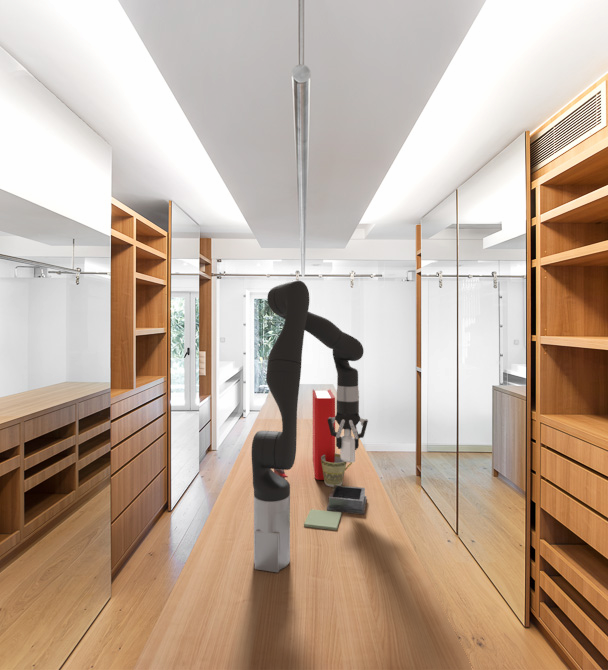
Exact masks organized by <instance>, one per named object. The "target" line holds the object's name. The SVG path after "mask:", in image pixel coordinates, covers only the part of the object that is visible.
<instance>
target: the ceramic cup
mask: <svg viewBox="0 0 608 670" xmlns="http://www.w3.org/2000/svg"><path fill="white" fill-rule="evenodd" d="M321 463H322V468H323V475H324V484H325V486H327V487H331V488H333V486H334V485H339V486H342V484H343V482H344V477H345V472H346V471H347V470H348V468H349V467H350V466H351V465H352V464H353V462H351V463H349V464H348V465H347V463H348V462H345V461H343V460H342V459H341V458H340V453H335V461H334V463H331V462H327V461H325V455H323V456H322V457H321Z"/></svg>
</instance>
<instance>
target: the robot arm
mask: <svg viewBox="0 0 608 670" xmlns="http://www.w3.org/2000/svg"><path fill="white" fill-rule="evenodd" d="M267 304H268V307H269V308H270V311H272V312H273V313H274V314H275V315H277V316H279V317H280V318H282V319H284V322H283V327H282V329H281V332H280V333H279V335H278V336H277V339H276V340H275V342H274V343H273V346H272V348H271V349H270V352H269V355H268V359H267V365H266V366H267V367H266V375H265V380H266V384H267V387H268V389H269V391H270V393H271V396H272V398H273V399H274V401H275V403H276V405H277V407H278V411H279V413H280V417H281V423H282V424H281V425H282V431H278V430H277V431H276V430H259V431H256V433H255V434H254V435H253V438H252V442H251V443H252V444H251V467H252V468H251V469H252V487H253V562H254V569H255V570H259V571H264V572H270V573H279V572H280V570H283V569H284V568H286V567H288V565H289V564H290V561H291V484H290V482H289V481H288V480H287V479H286V478H282V477H280V476H279V475H277V474H276V473H274V469H281V470H284V471H289V470H291V469H292V468H293V466H294V464H295V461H296V454H297V434H298V433H297V431H298V430H297V428H298V427H297V426H298V425H297V424H298V423H297V422H298V403H299V394H300V393H299V392H300V391H299V390H300V385H301V384H300V383H301V375H302V357H303V346H304V337H305V332H307V333H309V334H310V335H312V336H313V337H314V338H316V339H317V340H318V341H319V342H321V343H322V344H323V345H324V346H326V347H327V348H328V349H330V350H332V358H333V361H334V364H335V370H336V374H337V376H336V377H337V383H336V385H337V388H336V412H335V417H332V418H331V417H329V418H328V420H327V421H328V425H329V429H330V433H331V435H332V436H335V447H336V448H337V449H339V450H340V448H341V436H342V432H343V431H344V429H351V433H352V435H353V438H354V440H355V451H357V449H359V445H360V444H359V443H360V439H361V438H362V439H363V438H364V436H365V434H366V429H367V426H368V423H369V420H368V419H367V418H362V417H361V416H360V414H359V413H360V409H359V408H360V407H359V406H360V391H359V370H358V369H356V368H355V367H352V366H351V365H350V362H356V361H359V360H361V359H362V358H363V356H364V352H365V351H364V347H363V344H362V343H361V341H359V340H358V339H357V338H355V337H354V336H352V335H349V334H348V333H346V332H344V331H342V330H341V329H340V328H339V327H338V326H337V325H336V324H334V323H333V321H331V320H330V319H327V318H326V317H323V316H321V315H318V314H315V313H312V312H310V311H309V307H310V291H309V289H308V286H307V285H306V283H305V282H303V280H299V279H298V280H296V279H295V280H291V281H290V280H289V281H287V282H285V283H282V284H279V285H275V286H273V287H272V288H270V290H269V292H268V293H267ZM349 361H350V362H349ZM334 422H335V423H337V424H338V430H337V431H336V428H335V429H334V425H333V424H334ZM359 423H360V425H361V426H362V428H361V431H360V432H359V431H358V427H357V425H358V424H359Z"/></svg>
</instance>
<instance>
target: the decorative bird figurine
mask: <svg viewBox="0 0 608 670" xmlns="http://www.w3.org/2000/svg"><path fill="white" fill-rule="evenodd" d="M273 472H274V473H276V474H277V475H279V476H280V477H282V478H284V479H286V478H288V477H289V476H288V475H287V474H286V473H285V470H281V469H273Z"/></svg>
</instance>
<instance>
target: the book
mask: <svg viewBox="0 0 608 670" xmlns="http://www.w3.org/2000/svg"><path fill="white" fill-rule="evenodd" d="M335 416H336V397H335V395H334V394H333V392H332V390H331V389H330V388H329V389H328V390H314V389H312V463H313V464H312V465H313V473H314V479H315V480H318V481H319V480H320V481H323V480H324V475H323V468H322V463H321V457H322V456H323V455H325V461H327V462H331V463H334V461H335V454H336V437H335V436H332V435H331V433H330V429H329V425H328V421H327V420H328V418H329V417H331V418H332V417H335ZM333 425H334V429H335V430H336V421H335V422H334V424H333Z"/></svg>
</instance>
